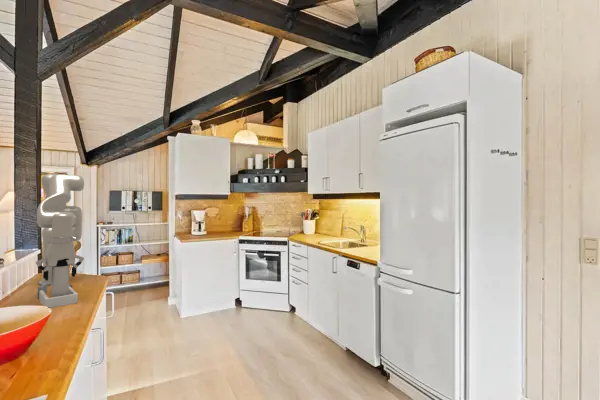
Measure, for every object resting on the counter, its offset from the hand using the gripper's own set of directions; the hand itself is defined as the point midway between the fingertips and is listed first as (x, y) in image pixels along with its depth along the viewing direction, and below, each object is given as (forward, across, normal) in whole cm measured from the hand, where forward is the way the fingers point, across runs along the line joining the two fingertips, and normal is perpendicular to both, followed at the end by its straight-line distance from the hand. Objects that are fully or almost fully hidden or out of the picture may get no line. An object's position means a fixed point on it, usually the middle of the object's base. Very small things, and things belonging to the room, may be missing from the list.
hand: (60, 277), depth 137 cm
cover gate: (+11, +4, -16) cm, 20 cm away
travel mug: (+11, 0, 0) cm, 11 cm away
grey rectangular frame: (+11, 0, -2) cm, 11 cm away
